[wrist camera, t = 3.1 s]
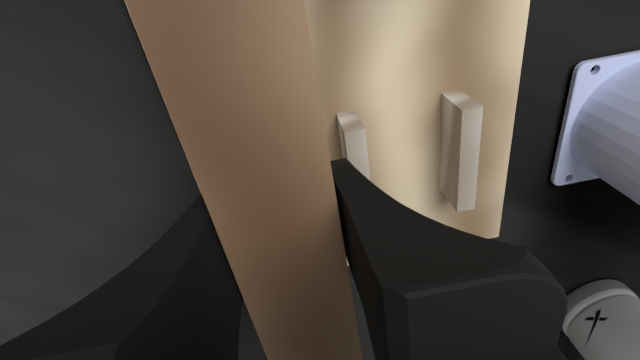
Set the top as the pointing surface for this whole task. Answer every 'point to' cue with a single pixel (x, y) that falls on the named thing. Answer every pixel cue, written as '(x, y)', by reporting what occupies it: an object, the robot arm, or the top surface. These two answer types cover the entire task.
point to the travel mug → (604, 321)
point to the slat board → (423, 99)
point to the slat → (259, 161)
